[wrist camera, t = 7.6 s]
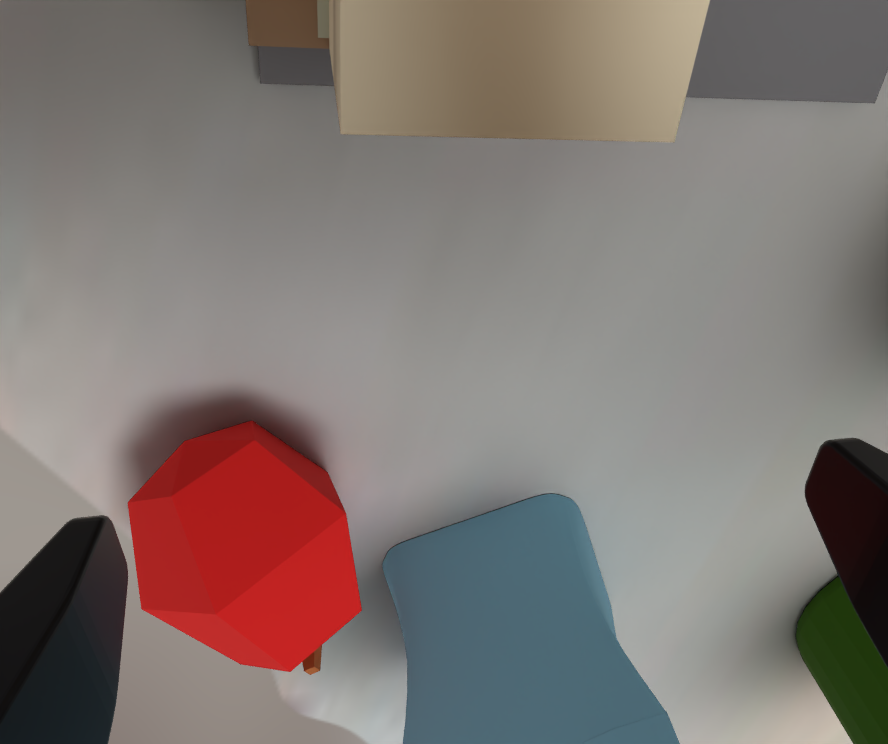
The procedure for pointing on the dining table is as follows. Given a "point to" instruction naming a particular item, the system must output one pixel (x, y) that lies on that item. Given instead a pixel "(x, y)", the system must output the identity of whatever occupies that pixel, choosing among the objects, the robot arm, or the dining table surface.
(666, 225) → the dining table surface
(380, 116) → the birch cube
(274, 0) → the brown block
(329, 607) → the apple
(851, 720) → the wine bottle
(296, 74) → the mat
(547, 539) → the vase
